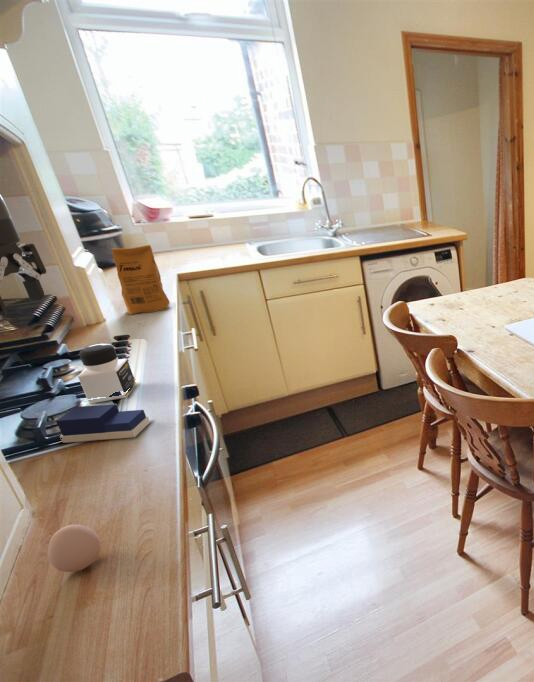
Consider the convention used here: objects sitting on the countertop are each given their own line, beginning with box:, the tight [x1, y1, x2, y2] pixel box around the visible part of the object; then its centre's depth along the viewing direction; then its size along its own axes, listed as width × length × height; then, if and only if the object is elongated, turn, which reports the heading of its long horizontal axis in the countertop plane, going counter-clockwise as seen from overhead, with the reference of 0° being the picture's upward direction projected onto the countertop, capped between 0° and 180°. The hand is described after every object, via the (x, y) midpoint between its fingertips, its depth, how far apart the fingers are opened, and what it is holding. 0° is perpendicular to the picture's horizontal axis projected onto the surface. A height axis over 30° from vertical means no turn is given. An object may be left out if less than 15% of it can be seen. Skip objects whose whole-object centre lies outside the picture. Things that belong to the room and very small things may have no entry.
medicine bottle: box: [77, 343, 137, 404], centre depth 106 cm, size 7×7×12 cm
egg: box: [46, 524, 102, 573], centre depth 63 cm, size 5×5×7 cm
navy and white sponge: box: [55, 403, 151, 444], centre depth 93 cm, size 13×5×5 cm, turn 98°
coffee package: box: [111, 244, 171, 315], centre depth 159 cm, size 10×12×22 cm
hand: (19, 306), depth 86 cm, fingers open, 8 cm apart
